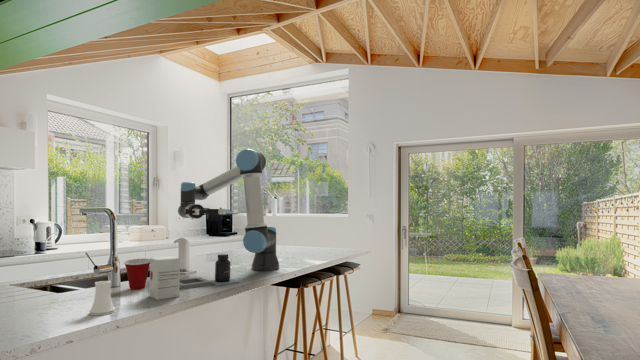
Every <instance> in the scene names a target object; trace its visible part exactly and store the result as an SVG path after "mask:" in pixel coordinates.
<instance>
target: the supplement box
mask: <svg viewBox="0 0 640 360" xmlns="http://www.w3.org/2000/svg"><path fill="white" fill-rule="evenodd" d="M149 259H150V265H149V293H148V294H149V297H151V298H152V299H154V300H158V301H159V300H165V299H171V298H178V297H180V288H179V281H180V276H181V274H180V272H181V268H180V267H181V258H179V257H177V256H174V255H167V256H154V257H153V256H152V257H149Z"/></svg>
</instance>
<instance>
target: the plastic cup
mask: <svg viewBox="0 0 640 360" xmlns="http://www.w3.org/2000/svg"><path fill="white" fill-rule="evenodd" d="M123 264H124V265H125V269H126V275H127V280H128V285H129V286H128V287H129V289H130V290H131V291H133V290H134V291H138V290H144V289H145V287H146V283H147V279H148V274H149V271H150V258H141V257H140V258H133V259H132V258H131V259H127V260H125V261H123Z"/></svg>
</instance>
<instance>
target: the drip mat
mask: <svg viewBox="0 0 640 360" xmlns="http://www.w3.org/2000/svg"><path fill="white" fill-rule="evenodd" d="M208 280H209V279H208ZM209 281H212V286H215V287H218V286H225V285H233V284H239V283H240V281H239V280H235V279H233V278H230V281H228V282H216V281H215V279H211V280H209Z"/></svg>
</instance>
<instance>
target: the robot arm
mask: <svg viewBox="0 0 640 360" xmlns="http://www.w3.org/2000/svg"><path fill="white" fill-rule="evenodd" d="M235 164H236V166H234V167H232V168H231V169H228V170H227V171H225V172H223V173H221V174H219V175H218V176H215V177H213V178H212V179H210V180H207V181H206V182H203V183H202V184H200V185H197V186H196V182H193V181H184V182H183V181H182V182H181V185H180V205H179V206H178V208H177V212H178V213H177V214H178V215H179V216H180V217H181V218H184V219H191V220H194V219H197V220H198V219H200V218H202V217H203V216H208V215H209V216H210V215H211V214H212V215H217V214H218V215H226V214H227V213H226V212H227V210H226V208H222V207H219V208H209V207H204V206H203V205H201V204H200V203H196V201H203V200H206V199H208V197H209V196H211V195H213V194H214V193H216V192H219V191H221V190H223V189H224V188H227V187H228V186H230V185H232V184H235V183H236V182H238V181H240V180H242V179H243V187H244V188H243V189H244V200H245V201H244V202H245V212H246V223H247V224H246V225H245V227H244V233H245V234H244V235H243V238H242V243H243V247H244V248H245V250H246V251H248V252H249V253H251V254H254V257H253V260H252V264H251V270H252V271H262V272H263V271H276V270H279V269H280V263H279V260H278V256H277V229H276V227H275V226H268V225H267V223H265V220H264V217H265V216H264V207H263V199H262V198H263V196H262V189H261V188H262V187H261V186H262V185H261V176H262V175H263V170H264V169H265V167H266V165H267V159H266V157H265V155H264V154H263V153H262V152H260V151H256V150H254V149H252V148H244V149H242V150H241V151H239V152H238V153H237V155H236V157H235Z"/></svg>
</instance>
